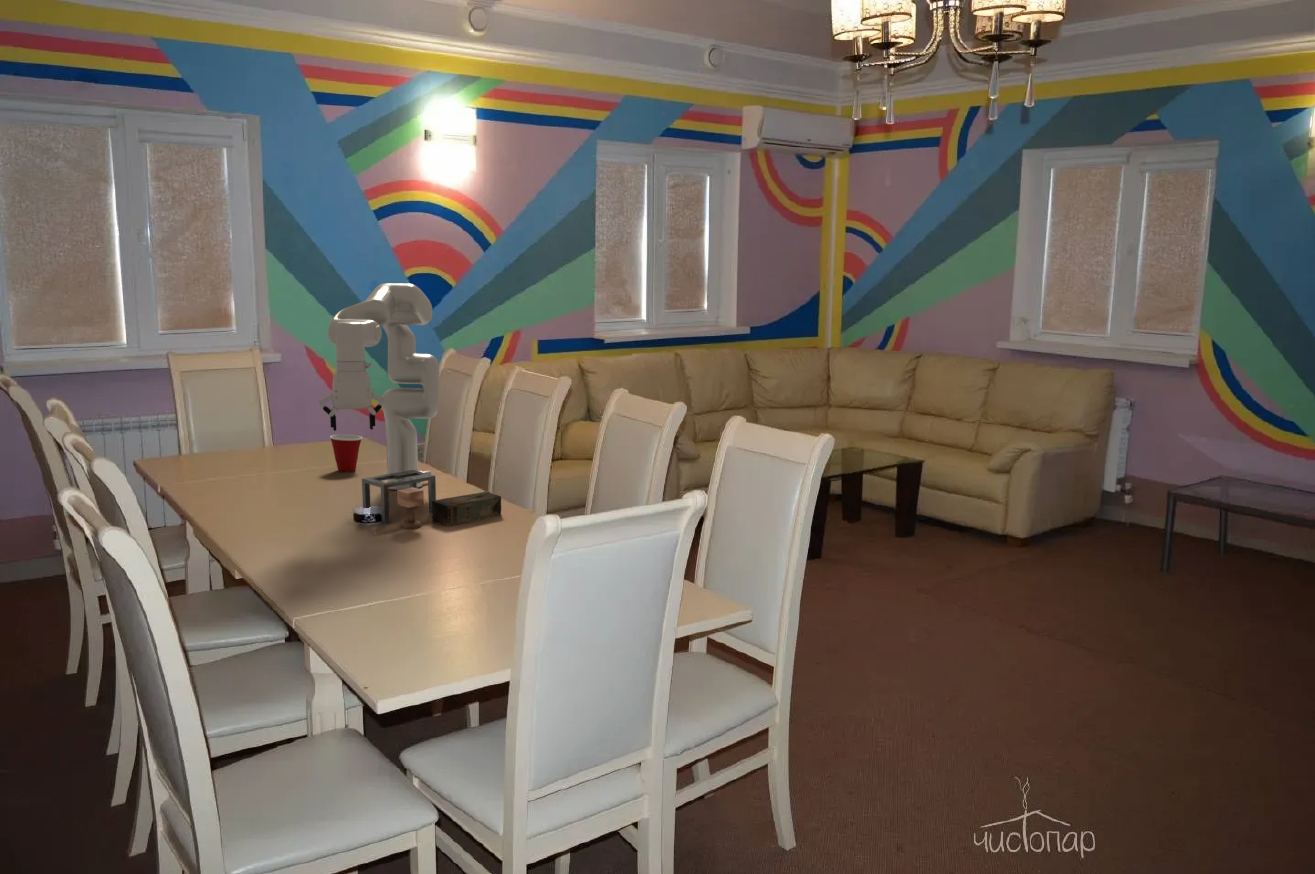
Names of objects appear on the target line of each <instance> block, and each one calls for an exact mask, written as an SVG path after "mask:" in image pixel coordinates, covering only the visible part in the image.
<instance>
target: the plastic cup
mask: <svg viewBox="0 0 1315 874" xmlns="http://www.w3.org/2000/svg"><path fill="white" fill-rule="evenodd" d="M329 438H330V440H331V441H330V442H331V444H332V445H331V446H332V449H333V455H334V459H335V464H336V467H337V470H338V472H341V473H342V472H344V473H348V472H349V473H350V472H354V471H356V470H357V462H358V458H359V452H360V451H359V450H360V445H361V443H362V440H363V436H362V435H361V436H360V435H354V434H332V435H330V436H329Z"/></svg>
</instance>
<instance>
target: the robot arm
mask: <svg viewBox="0 0 1315 874" xmlns="http://www.w3.org/2000/svg"><path fill="white" fill-rule="evenodd" d="M433 312H434V311H433V306H432V303H431V301H430V299H429V298H428V297H427V296H426V294H425V293H424V291H422V289H421V288H420V287H418V286H417V285H415V284H413V283H389V282H388V283H381V284H379V285H377V286H376V287H375V288H373V291H372V292H371V293H370V294H369V295H368V296H367V298H366V299H365V300H364V301H361V302H359V303H356V304H354V305H350V306H347V307H346V308H345V307H344V308H343V309H340V311H337V312H336V314H335V315H334V316H333V317H332V319H331V320H330V321H329V324H328V327H327V338H328V340H329V342H330V343H331V344H332V345H334V346H335V358H336V360H335V361H336V362H335V363H336V371H335V372H333V376H332V390H331V391H332V392H331V393H329V394H328V395H325V396H324V397H322V398H320V399H318V403H319V405H320V406H321V409H323V411H324V412H325V413H326V414H327V415H329V416H330V421H329V422H330V428H331V429H332V428H333V431H334V432H336V431H337V416H336V413H337V412H338V411H339V410H363V409H366V410H368V412H369V414H368V415H369V416H368V418H369V419H368V420H369V430H370V431H371V430H374V427H376V415H377V413H378V412H379V411H380V410H381V409H382V411H383V415H384V422H385V423H384V424H385V439H386V440H385V441H386V466H387V467H386V468H387V469H386V471H387V473H386V474H391V473H397V472H403V471H409V470H416V471H420V472H423V473H427V474H431V475H432V471H430V470H425V471H422V470H419V465H418V464H419V463H418V460H419V459H418V457H419V455H418V432H417V428H416V426H415V425H414V424H413V422H412V421H411V420H410V419H423V420H425V419H427V420H428V419H433V418H435V417H436V416H438V415H437V414H438V412H439V405H440V365H439V364H440V363H439V361H438V359H437V358H436V356H434V355H432V354H429V353H417V351H416V349H417V347H416V346H417V345H416V344H417V339H416V336H415V334H414V333H413V330H412V329H411V328H410V326H425V325H428V324H429V323H430V322H431V321H432V318H433ZM381 326H382V327H383V330H384V331H385V334H386V337H387V376H388V379H389V381H391V383H394V384H403V385H404V384H405V385H421V386H422V387H421V388H417V387H416V388H415V387H413V388H412V387H394V388H393V387H392V388H389V389H387V390H385V392H383V394H382V396H380V395H378V394H377V393H374V392H372V388H371V387H372V386H371V380H370V374H369V371H366V370H367V369H368V368H372V363H371V362H367V361H366V349H365V348H369V347H370V348H371V347H375V346H377V345H378V344H379V343H380V342H381V339H382V335H383V331H382V327H381ZM373 399H374V400H376V401H378V403H377V404H376V406H375V407H372V401H373ZM331 400H332V404H333V405H332V408H330V407H328V406H327V404H326V403H327V402H328V401H331ZM397 480H402V479H397ZM397 480H396V479H388V480H384V482H391V481H397ZM416 484H417V489H420V488H422V487H423V486H424V481H422V482H416ZM407 488H409V484H405V485H400V486H394V487H389V490H393V491H394V490H395V491H397V490H401V489H407Z"/></svg>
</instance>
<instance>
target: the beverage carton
mask: <svg viewBox="0 0 1315 874" xmlns="http://www.w3.org/2000/svg"><path fill="white" fill-rule="evenodd" d="M501 515H502V496H501V495H498V494H495V493H491V491H489V490H486V491H482V492H477V493H470V494H463V495H457V496H453V497H447V498H446V497H445V498H441V499H440V498H439V499H436V500H435V501H432V514H431V521H432V522H433V523H437V524H439V525H442V526H444V527H450V526H455V525H461V524H464V523H469V522H470V521H471V522H474V521H480V520H483V519H484V518H485V519H489V518H488V517H490V518H493V516H494V517H497V516H498V517H499V516H501ZM479 519H480V520H479ZM471 522H470V523H471Z"/></svg>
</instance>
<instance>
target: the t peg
mask: <svg viewBox="0 0 1315 874" xmlns="http://www.w3.org/2000/svg"><path fill="white" fill-rule="evenodd" d="M396 491H397V492H396V495H397V496H396V497H397V505H398V506H402V507H404V508H406V509H407V510H406V514H407V515H406V516H407V520H404V521H402V522H401V525H402V528H403V529H405V530H407V529H408V530H414V529H418V528H421V521H420V520H418V519H417V520H416V514H415V513H416V511H415V509H416V507H415V506H417V507H418V506H424V504H425V501H424V500H425V499H424V494H425V493H424V489H420V488H413V487H412V488H407V489H401V490H396Z"/></svg>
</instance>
